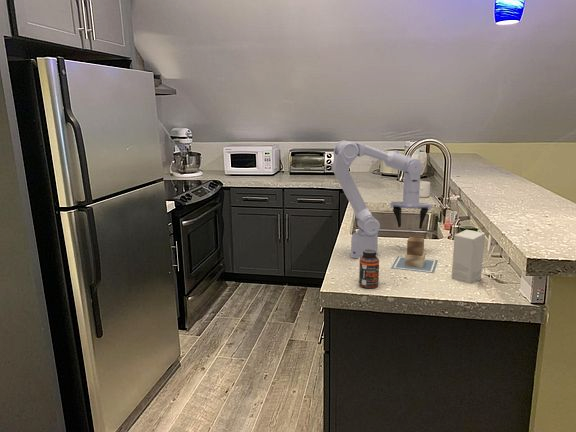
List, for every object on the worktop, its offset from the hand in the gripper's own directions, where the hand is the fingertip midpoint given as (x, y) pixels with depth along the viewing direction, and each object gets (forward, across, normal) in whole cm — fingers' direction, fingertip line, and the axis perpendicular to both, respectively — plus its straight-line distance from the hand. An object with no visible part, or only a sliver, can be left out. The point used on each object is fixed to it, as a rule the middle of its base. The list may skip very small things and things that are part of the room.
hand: (410, 227), depth 167 cm
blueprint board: (+10, +4, -14) cm, 18 cm away
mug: (+11, -11, +120) cm, 121 cm away
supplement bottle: (+11, -7, -36) cm, 38 cm away
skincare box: (+11, +21, -22) cm, 32 cm away
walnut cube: (+5, +4, -14) cm, 16 cm away
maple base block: (+9, +4, -14) cm, 17 cm away
